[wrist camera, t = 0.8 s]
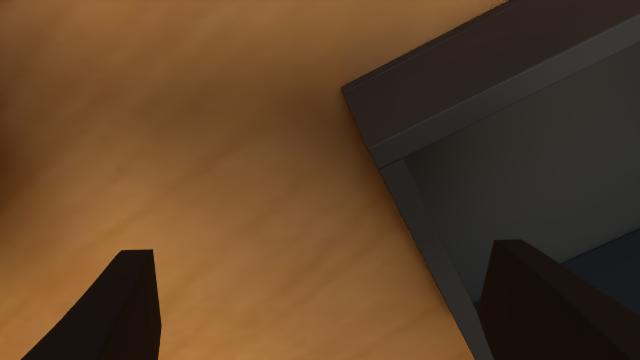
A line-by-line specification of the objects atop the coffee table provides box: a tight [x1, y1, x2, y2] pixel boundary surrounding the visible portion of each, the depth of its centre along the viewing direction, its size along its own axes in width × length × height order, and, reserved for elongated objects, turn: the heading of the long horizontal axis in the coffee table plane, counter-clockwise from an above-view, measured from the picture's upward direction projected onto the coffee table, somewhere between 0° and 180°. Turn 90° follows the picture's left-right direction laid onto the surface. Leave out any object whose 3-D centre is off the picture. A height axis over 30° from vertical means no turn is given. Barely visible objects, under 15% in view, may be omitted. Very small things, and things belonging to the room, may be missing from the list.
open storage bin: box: [341, 0, 640, 360], centre depth 20 cm, size 13×13×5 cm
